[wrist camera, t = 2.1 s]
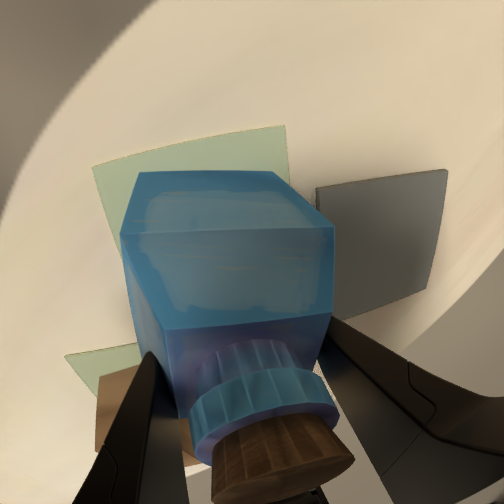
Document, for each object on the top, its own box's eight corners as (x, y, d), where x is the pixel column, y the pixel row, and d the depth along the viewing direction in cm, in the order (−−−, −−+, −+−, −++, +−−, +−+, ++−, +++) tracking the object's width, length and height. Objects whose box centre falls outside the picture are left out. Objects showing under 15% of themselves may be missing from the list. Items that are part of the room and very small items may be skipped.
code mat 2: (294, 279, 18) (295, 281, 18) (146, 316, 17) (146, 317, 17) (283, 125, 13) (284, 125, 13) (92, 166, 12) (91, 167, 12)
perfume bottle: (272, 171, 14) (467, 365, 4) (259, 279, 17) (357, 482, 7) (139, 172, 13) (84, 451, 3) (147, 286, 16) (162, 524, 6)
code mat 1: (216, 403, 23) (216, 404, 23) (118, 419, 22) (118, 421, 21) (187, 332, 18) (187, 334, 18) (64, 355, 17) (64, 357, 17)
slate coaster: (423, 285, 22) (425, 288, 22) (315, 324, 21) (318, 328, 20) (444, 168, 17) (448, 170, 17) (316, 188, 15) (319, 190, 15)
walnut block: (190, 394, 21) (202, 462, 16) (136, 409, 21) (140, 474, 16) (158, 358, 18) (164, 438, 14) (99, 376, 18) (94, 450, 13)
